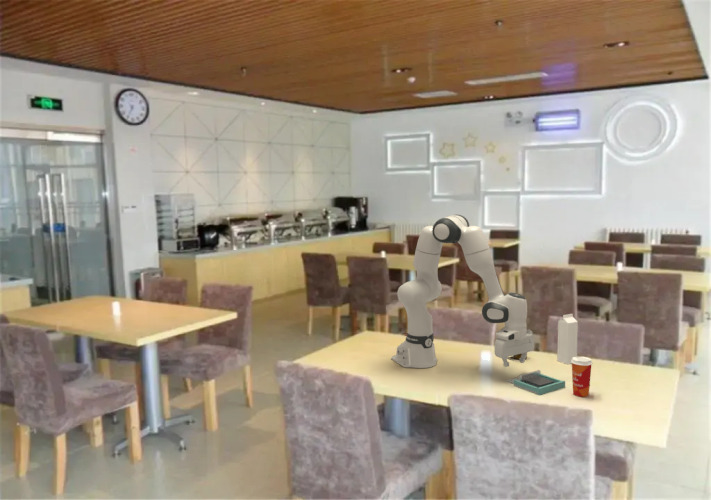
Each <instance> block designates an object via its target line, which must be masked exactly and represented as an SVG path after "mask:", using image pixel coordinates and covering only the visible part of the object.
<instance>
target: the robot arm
mask: <svg viewBox="0 0 711 500" xmlns="http://www.w3.org/2000/svg"><path fill="white" fill-rule="evenodd" d="M457 243H458V244H459V245H460V246H461V250H462V252H463V256H464V259H465V262H466V265H467V266H468V268H469V270H470V271H471V272H472V273H475V274H477V276H479V277H480V278H481V280H482V281H483V283H484V284H483V285H484V287H485V290H486V292H487V296H488V301H487V302H486V303H485V304H484V305H483V306H482V308H481V315H482V317H483V319H484V320H485V321H486V322H487V323H490V324H502V323H504V327H502V328H501V329H500V330H498V331H496V332H495V338H496V339H495V342H494V355H495V357H497V358H500V359H502V362H503V366H504V367H505V368H507V367H508V368H509V367H510V362H509V361H508V357H511V356H513V355H517V354H522V355H521V358H519V363H520V364H524V363H526V360H525V358H526V356H527V357H528V353H529V352H533V351H534V349H535V340H534V339H535V338H534V336H533V335H534V333H533V331H532V330H531V329H529V328H528V329H527V327H528V326H527V325H528V324H527V317H528V302H527V298H526V297H525V296H524V295H523V294H520V293H516V292H509V293H507V294H505V293H504V291H503V288H502V286H501V283H500V281H499V280H500V279H499V278H498V274H497V272H496V268H495V264H494V259H493V255H492V250H491V246H490V244H489V241H488V239H487V237H486V235H485V233H484V231H483V229H482V228H481V227H480V226H478V225H470V223H469V220H468V219H467V217H465V216H464V215H462V214H461V215H460V214H451V215H446V216H445V217H442V218H439V219H438V220H437V221H435V223H434V224H433V225H426V226H424V227H423V228H422V229H421V231H420V234H419V236H418V239H417V244H416V248H415V250H414V251H415V252H414V257H413V262H412V264H413V265H412V266H413V267H414V269H415V270H416V278H415V279H414V280H410V281H406V282H404V283H403V284H401V285H400V286H399V287H398V289H397V292H396V293H397V295H396V296H397V299H398V301H399V303H400V304H402V305H403V306H404V309H405V313H406V316H407V332H405V333H404V336H405V340H404V341H403V342H402V343H400V344H399V345H398V346H397V347H396V354H394V355H392V356H391V360H392V361H394V362H395V363H397V364H399V365H400V366H401V367H403V368H416V369H426V368H427V369H428V368H432V367H435V366H436V365H437V361H438V358H437V357H436V356H437V355H436V347H435V343H434V340H435V339H434V333H433V316H432V314H431V313H429V311H428V308H427V303H429V302H432V301H434V300H436V299H437V298H438V297H439V296H441V294H442V292H443V291H442V290H443V286H442V283H441V281H440V280H439V276H438V272H439V271H438V269H439V262H440V258H441V255H442V248H443V245H444V244H457Z"/></svg>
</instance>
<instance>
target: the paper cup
mask: <svg viewBox="0 0 711 500" xmlns="http://www.w3.org/2000/svg"><path fill="white" fill-rule="evenodd" d="M571 362H572V363H571V372H572V375H571V377H572V378H571V379H572V381H571V382H572V393H573V395H574V396H576V397H580V398H586V397H589V394H590V386H591V375H592V374H591V373H592V364H593V361H592V358H590V357H587V356H577V357H573V358H572V360H571Z"/></svg>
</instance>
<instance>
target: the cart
mask: <svg viewBox="0 0 711 500" xmlns="http://www.w3.org/2000/svg"><path fill="white" fill-rule="evenodd" d="M541 374H542V373H541V370H540V369H537V370H534V371H530V372H527V373H522V374H520V375H519V377H520V381H521V382H525V383H528V384H531V385H534V386H536V387H543V386H546V385H550V384H553V383H554V381H551V380H548V379H545V378H542V377H540V375H541Z"/></svg>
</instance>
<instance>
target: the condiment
mask: <svg viewBox="0 0 711 500" xmlns="http://www.w3.org/2000/svg"><path fill="white" fill-rule="evenodd" d="M521 355H522V354H517V355H513V356H509V357H508V359H509V360H511V361H515V362H517V363H518V362H519V358H521ZM508 359H507V360H508ZM528 360H531V358H530V357H528V355H527V356H526V358H525V361H528ZM519 363H520V362H519Z"/></svg>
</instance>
